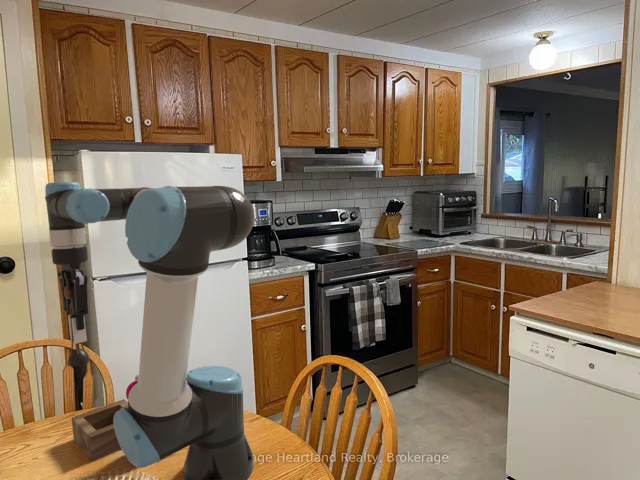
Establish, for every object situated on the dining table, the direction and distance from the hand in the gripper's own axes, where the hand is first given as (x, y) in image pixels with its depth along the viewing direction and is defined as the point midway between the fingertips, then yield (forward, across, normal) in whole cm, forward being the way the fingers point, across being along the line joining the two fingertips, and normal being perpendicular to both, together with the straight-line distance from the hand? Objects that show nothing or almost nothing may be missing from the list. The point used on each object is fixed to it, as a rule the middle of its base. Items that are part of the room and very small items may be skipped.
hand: (78, 340), depth 112 cm
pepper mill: (+26, -17, -6) cm, 32 cm away
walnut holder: (+26, -4, -4) cm, 26 cm away
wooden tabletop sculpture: (+6, 0, 0) cm, 6 cm away
